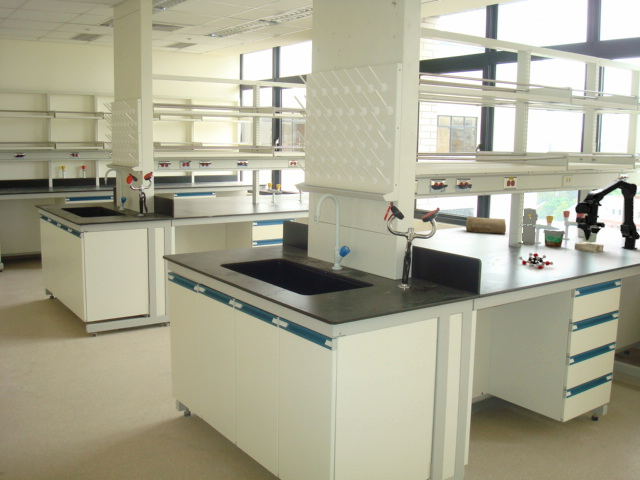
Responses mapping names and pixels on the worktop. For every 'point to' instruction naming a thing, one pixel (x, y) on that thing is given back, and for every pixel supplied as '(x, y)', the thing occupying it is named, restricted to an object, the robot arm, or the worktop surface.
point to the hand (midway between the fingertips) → (589, 239)
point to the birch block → (589, 247)
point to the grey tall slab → (529, 231)
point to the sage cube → (591, 238)
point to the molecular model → (535, 261)
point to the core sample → (485, 225)
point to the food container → (553, 238)
